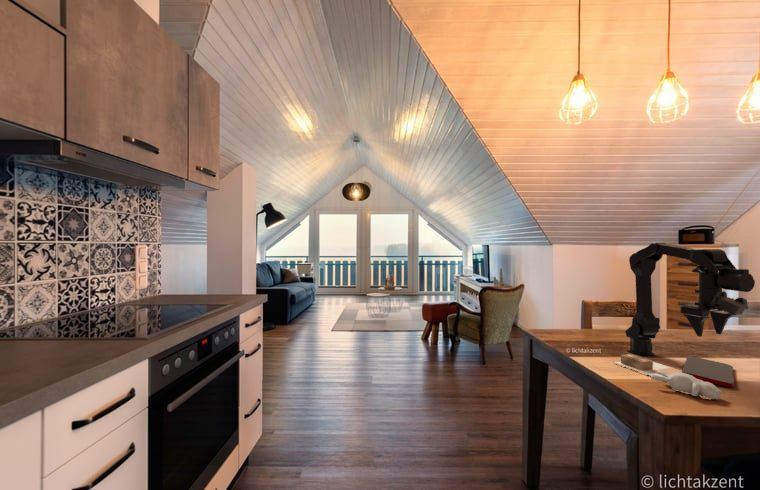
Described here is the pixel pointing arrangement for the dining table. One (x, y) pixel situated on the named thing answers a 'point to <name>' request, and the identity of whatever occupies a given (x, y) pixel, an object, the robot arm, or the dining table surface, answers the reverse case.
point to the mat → (654, 369)
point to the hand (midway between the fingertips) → (709, 335)
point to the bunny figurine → (688, 384)
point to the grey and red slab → (709, 371)
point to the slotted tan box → (637, 362)
